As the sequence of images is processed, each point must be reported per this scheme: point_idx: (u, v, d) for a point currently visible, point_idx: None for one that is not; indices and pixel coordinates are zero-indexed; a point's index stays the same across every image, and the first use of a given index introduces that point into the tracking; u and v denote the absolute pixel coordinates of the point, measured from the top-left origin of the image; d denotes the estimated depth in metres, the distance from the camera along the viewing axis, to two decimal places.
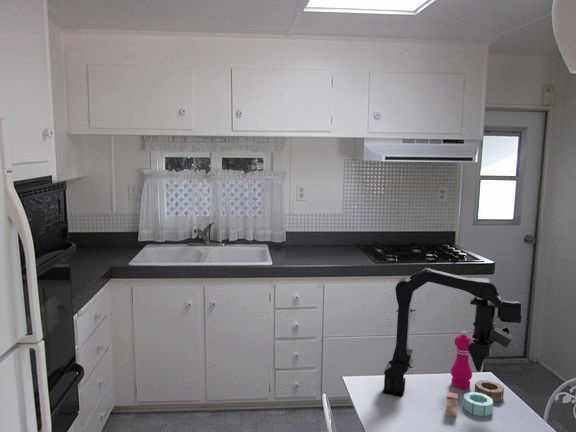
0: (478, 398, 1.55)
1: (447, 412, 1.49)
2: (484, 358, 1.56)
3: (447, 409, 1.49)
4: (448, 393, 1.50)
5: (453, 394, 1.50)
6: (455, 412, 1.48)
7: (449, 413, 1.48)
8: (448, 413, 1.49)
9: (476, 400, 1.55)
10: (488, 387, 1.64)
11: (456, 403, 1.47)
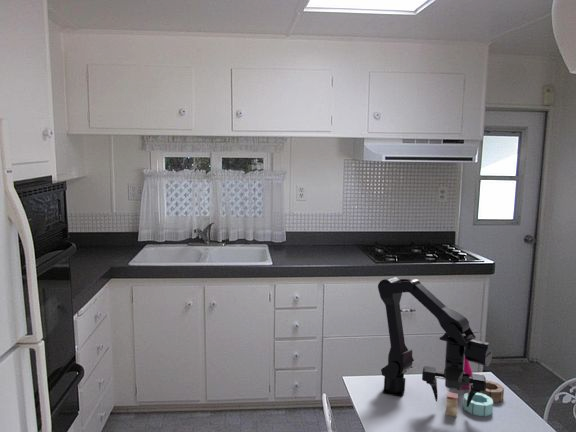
0: (478, 398, 1.55)
1: (447, 412, 1.49)
2: None
3: (447, 409, 1.49)
4: (448, 393, 1.50)
5: (453, 394, 1.50)
6: (455, 412, 1.48)
7: (449, 413, 1.48)
8: (448, 413, 1.49)
9: (476, 400, 1.55)
10: (488, 387, 1.64)
11: (456, 403, 1.47)
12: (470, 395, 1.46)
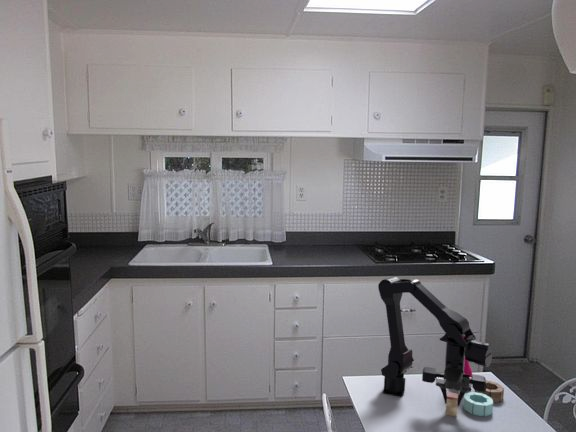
0: (478, 398, 1.55)
1: (447, 412, 1.49)
2: None
3: (447, 409, 1.49)
4: (448, 393, 1.50)
5: (453, 393, 1.50)
6: (455, 412, 1.48)
7: (449, 413, 1.48)
8: (448, 412, 1.49)
9: (476, 400, 1.55)
10: (488, 387, 1.64)
11: (456, 403, 1.47)
12: (460, 394, 1.47)
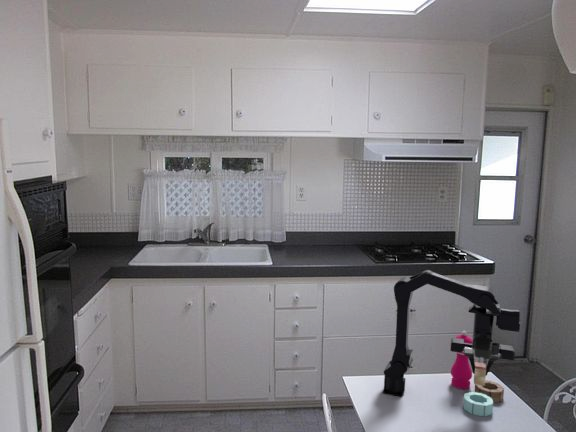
0: (478, 398, 1.55)
1: (475, 381, 1.51)
2: None
3: (475, 378, 1.51)
4: (476, 363, 1.52)
5: (481, 363, 1.52)
6: (483, 381, 1.50)
7: (477, 382, 1.50)
8: (476, 382, 1.51)
9: (476, 400, 1.55)
10: (488, 387, 1.64)
11: (484, 372, 1.49)
12: (489, 364, 1.49)
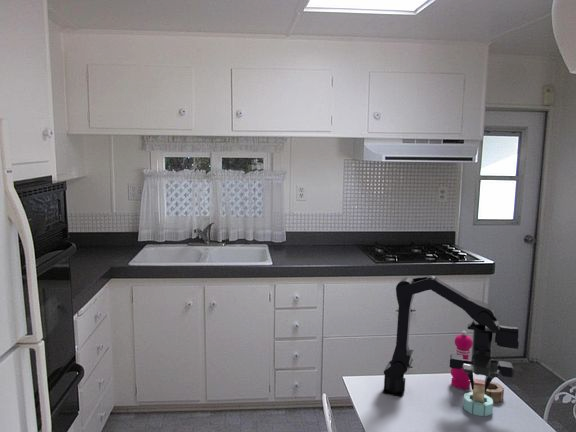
0: None
1: (474, 398, 1.51)
2: None
3: (474, 395, 1.51)
4: (475, 379, 1.53)
5: (480, 380, 1.53)
6: (482, 398, 1.50)
7: (476, 399, 1.51)
8: (475, 398, 1.51)
9: None
10: (488, 387, 1.64)
11: (483, 389, 1.50)
12: (487, 380, 1.50)
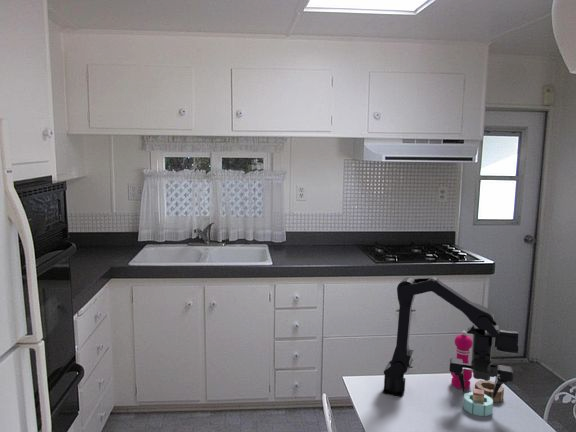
0: None
1: None
2: (493, 394, 1.50)
3: None
4: (474, 389, 1.53)
5: (479, 390, 1.53)
6: None
7: None
8: None
9: None
10: (488, 387, 1.64)
11: (482, 399, 1.50)
12: (497, 386, 1.49)
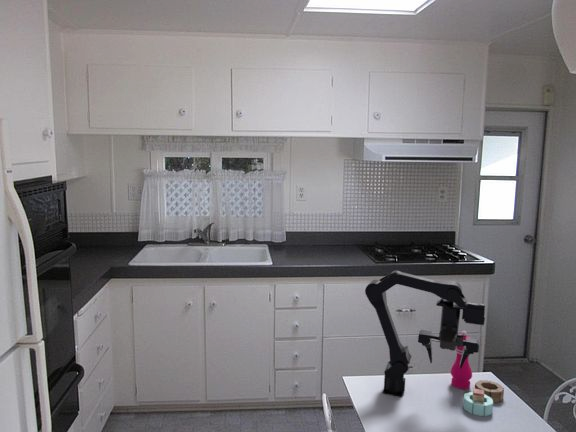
0: None
1: None
2: None
3: None
4: (474, 389, 1.53)
5: (480, 390, 1.53)
6: None
7: None
8: None
9: None
10: (488, 387, 1.64)
11: (482, 399, 1.50)
12: (463, 357, 1.53)
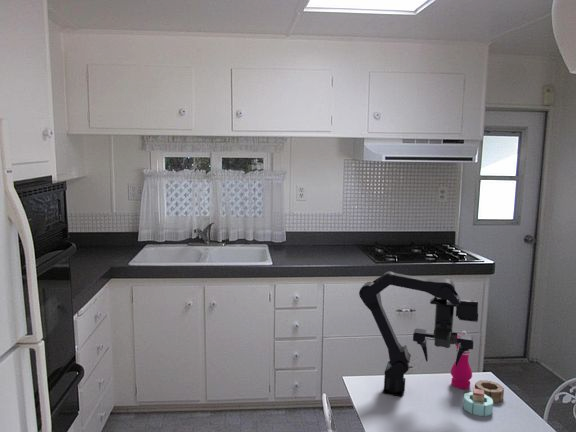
0: None
1: None
2: (455, 363, 1.55)
3: None
4: (474, 389, 1.53)
5: (480, 390, 1.53)
6: None
7: None
8: None
9: None
10: (488, 387, 1.64)
11: (482, 399, 1.50)
12: (458, 354, 1.54)
